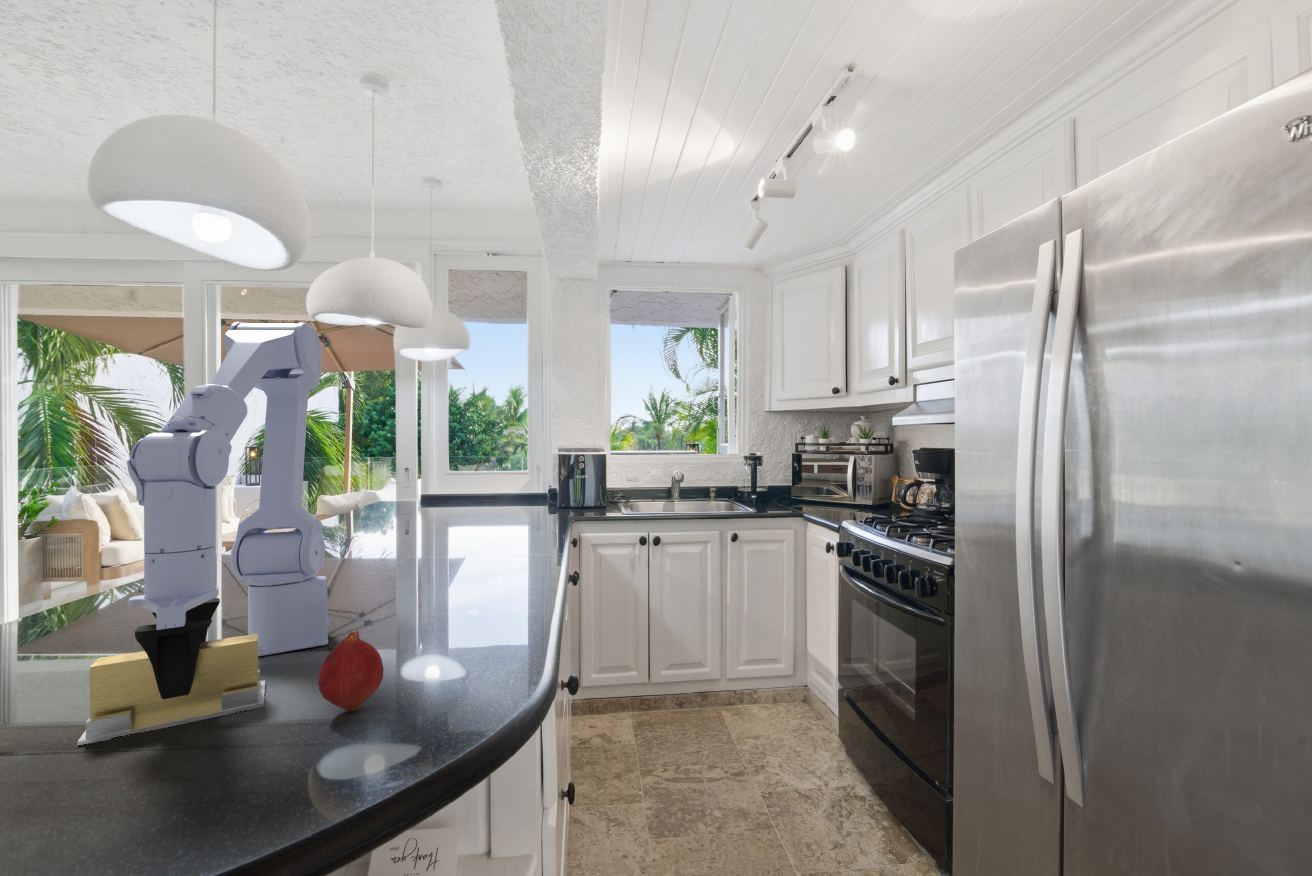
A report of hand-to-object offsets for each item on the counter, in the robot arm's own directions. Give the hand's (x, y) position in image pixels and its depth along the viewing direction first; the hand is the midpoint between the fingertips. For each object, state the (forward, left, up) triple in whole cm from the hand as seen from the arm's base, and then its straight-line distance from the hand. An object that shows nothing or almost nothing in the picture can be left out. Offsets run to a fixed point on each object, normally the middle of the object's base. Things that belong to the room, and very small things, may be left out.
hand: (181, 683), depth 60 cm
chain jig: (0, 0, -3) cm, 3 cm away
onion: (-14, +10, -3) cm, 18 cm away
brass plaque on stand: (0, 0, -2) cm, 3 cm away
